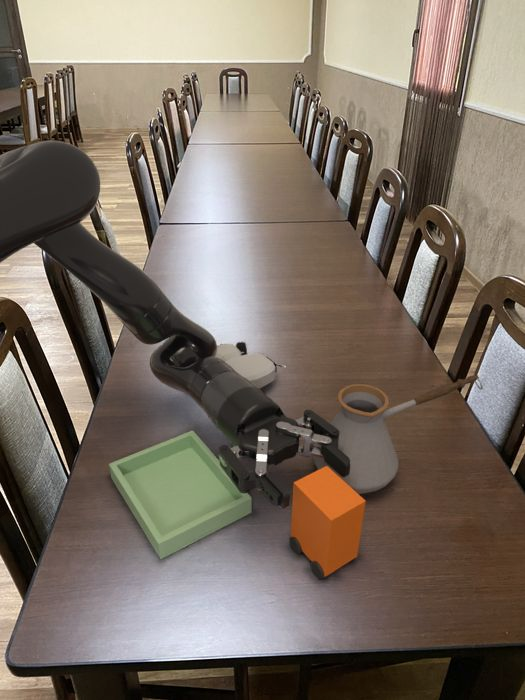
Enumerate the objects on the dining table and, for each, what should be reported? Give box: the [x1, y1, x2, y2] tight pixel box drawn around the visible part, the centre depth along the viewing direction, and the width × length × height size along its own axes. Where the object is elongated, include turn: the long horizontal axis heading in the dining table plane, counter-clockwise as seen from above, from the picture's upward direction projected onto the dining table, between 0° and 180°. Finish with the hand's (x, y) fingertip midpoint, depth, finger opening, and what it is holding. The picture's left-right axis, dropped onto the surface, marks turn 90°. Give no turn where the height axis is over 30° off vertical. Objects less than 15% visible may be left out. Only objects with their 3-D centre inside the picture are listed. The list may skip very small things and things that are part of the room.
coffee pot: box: [312, 374, 484, 495], centre depth 71 cm, size 21×12×15 cm, turn 98°
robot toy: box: [215, 341, 287, 390], centre depth 93 cm, size 12×4×15 cm
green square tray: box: [108, 430, 253, 560], centre depth 70 cm, size 16×13×3 cm
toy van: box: [289, 466, 366, 580], centre depth 61 cm, size 7×5×10 cm
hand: (318, 485), depth 59 cm, fingers open, 8 cm apart
